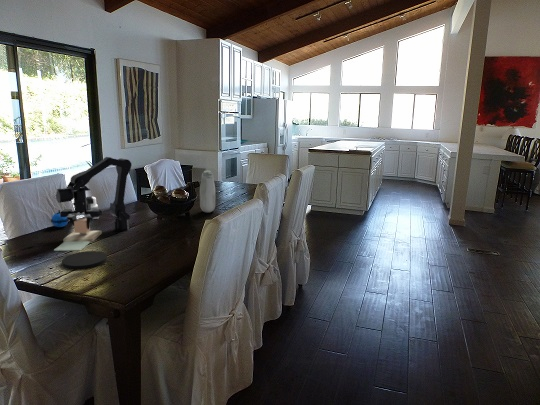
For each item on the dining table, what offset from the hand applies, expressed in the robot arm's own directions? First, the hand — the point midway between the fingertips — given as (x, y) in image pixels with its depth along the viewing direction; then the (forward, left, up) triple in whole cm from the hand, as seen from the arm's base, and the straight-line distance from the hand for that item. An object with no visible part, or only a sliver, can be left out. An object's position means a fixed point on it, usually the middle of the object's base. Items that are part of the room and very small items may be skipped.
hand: (82, 229), depth 199 cm
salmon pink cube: (0, 0, -1) cm, 1 cm away
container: (+9, -39, -5) cm, 40 cm away
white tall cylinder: (-61, -53, -5) cm, 81 cm away
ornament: (+19, -19, -5) cm, 27 cm away
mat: (0, +14, -4) cm, 15 cm away
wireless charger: (-13, +34, -5) cm, 37 cm away
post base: (0, 0, -4) cm, 4 cm away
